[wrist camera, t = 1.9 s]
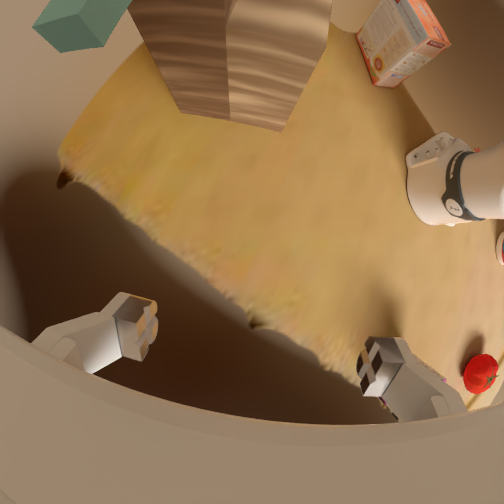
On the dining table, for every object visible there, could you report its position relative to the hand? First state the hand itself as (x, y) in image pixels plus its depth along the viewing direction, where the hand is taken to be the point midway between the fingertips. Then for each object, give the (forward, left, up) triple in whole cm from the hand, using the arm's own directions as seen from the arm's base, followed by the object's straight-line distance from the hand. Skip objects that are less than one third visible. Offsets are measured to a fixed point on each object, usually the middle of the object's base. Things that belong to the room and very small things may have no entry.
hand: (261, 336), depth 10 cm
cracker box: (-48, -9, -37) cm, 61 cm away
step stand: (-20, -21, -37) cm, 47 cm away
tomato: (-22, +69, -37) cm, 81 cm away
